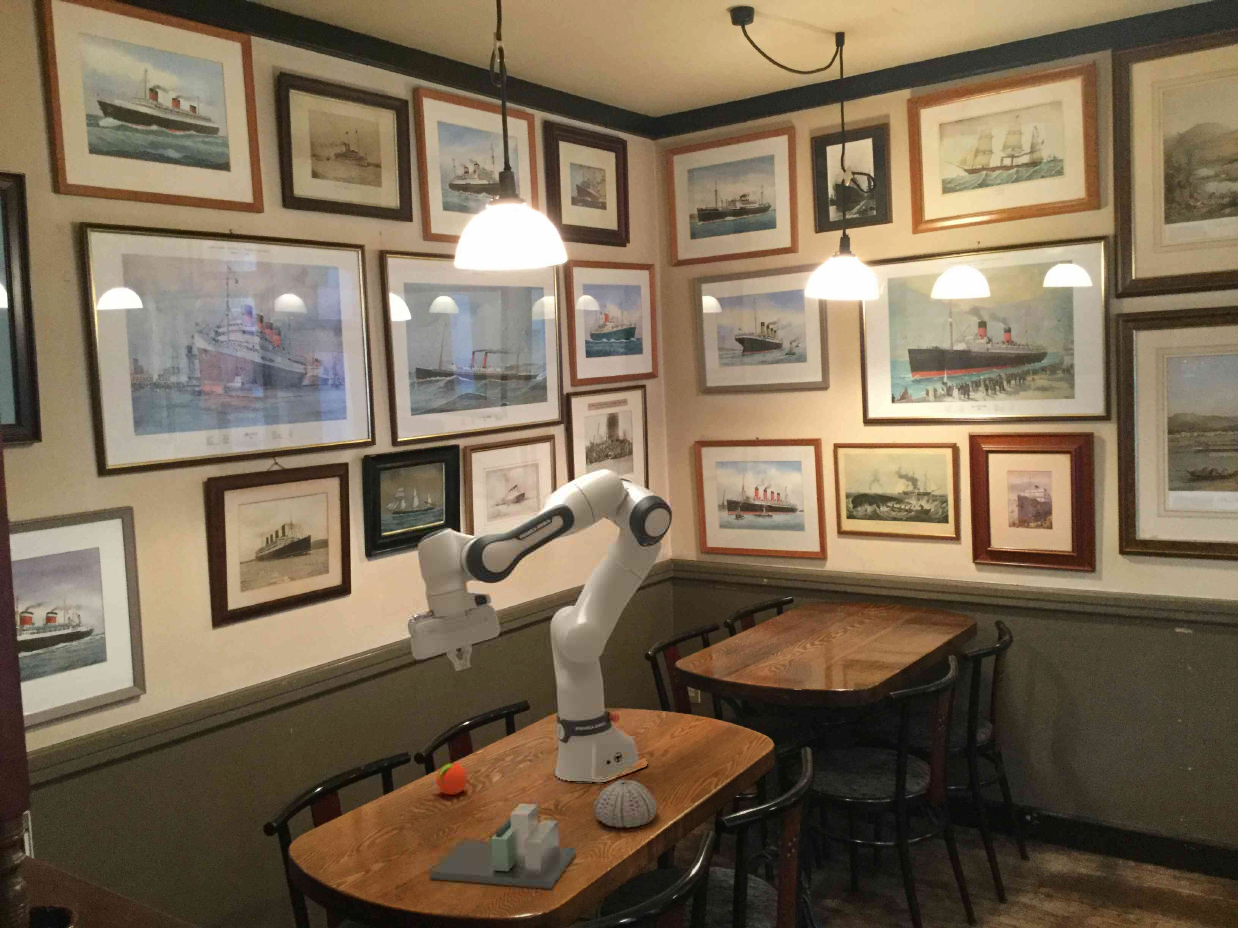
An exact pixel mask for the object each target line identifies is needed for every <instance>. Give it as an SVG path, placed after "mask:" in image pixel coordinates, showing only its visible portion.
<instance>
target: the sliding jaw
mask: <svg viewBox="0 0 1238 928" xmlns="http://www.w3.org/2000/svg"><path fill="white" fill-rule="evenodd" d="M490 842H491V843H492V859H493V870H498V871H509V870H510V869H511V867H512V866H513V850H512V834H511V818H510V816H509V817H508V818H507V819H506V820H505V821H504V822H503V823H502V824H501V825H500V826H499V827H498V828H497V829H496V830H495V833H494V835H493V836H492V837H491V839H490Z"/></svg>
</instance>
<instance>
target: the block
mask: <svg viewBox="0 0 1238 928" xmlns="http://www.w3.org/2000/svg"><path fill="white" fill-rule="evenodd" d="M538 811H539V810H538V804H536V803H533V804H532V803H531V804H529V803H519V804H518V805H517V806H516V808H515V809H513V811H512V812H510V815H509V817H510V818H511V834H512V850H513V866H517V867H525V852H524V841H525V840H526V839H527V838H528V837H529V836H530V834H531V833H532V832H533V831H534V830H535V829H536V827H537V826H538V825H539V812H538Z"/></svg>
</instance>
